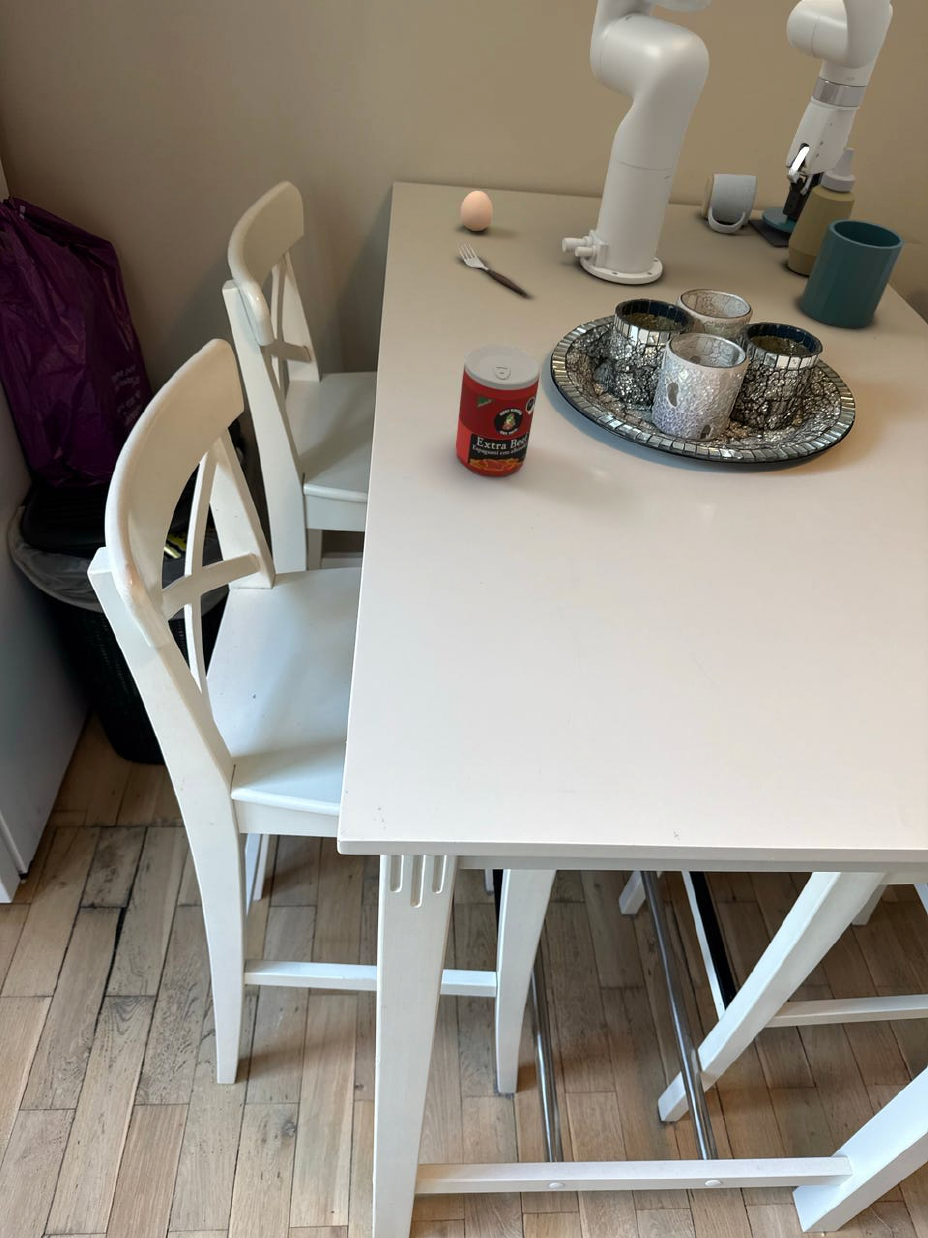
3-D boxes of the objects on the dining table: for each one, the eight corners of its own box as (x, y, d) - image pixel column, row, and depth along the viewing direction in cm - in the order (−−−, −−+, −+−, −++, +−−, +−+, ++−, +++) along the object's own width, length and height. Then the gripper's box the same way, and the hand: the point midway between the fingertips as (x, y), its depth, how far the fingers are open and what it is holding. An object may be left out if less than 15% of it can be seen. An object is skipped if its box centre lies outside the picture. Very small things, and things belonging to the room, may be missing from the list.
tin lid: (778, 238, 147) (791, 198, 143) (749, 212, 155) (761, 174, 150) (837, 239, 149) (852, 199, 145) (806, 214, 157) (820, 176, 153)
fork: (519, 300, 124) (521, 286, 123) (453, 256, 133) (455, 243, 131) (533, 296, 125) (535, 282, 124) (467, 254, 134) (469, 240, 133)
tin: (820, 328, 127) (852, 247, 119) (787, 296, 134) (816, 218, 126) (884, 327, 129) (919, 248, 121) (848, 296, 136) (879, 219, 128)
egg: (492, 226, 143) (496, 188, 139) (488, 238, 139) (492, 199, 135) (461, 221, 143) (465, 183, 139) (456, 233, 139) (460, 194, 135)
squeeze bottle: (825, 262, 145) (870, 143, 133) (835, 283, 139) (884, 160, 127) (776, 256, 145) (817, 136, 133) (785, 276, 139) (828, 153, 127)
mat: (775, 246, 148) (776, 244, 148) (747, 221, 156) (748, 219, 156) (833, 247, 151) (834, 245, 150) (803, 222, 158) (803, 220, 158)
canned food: (465, 480, 91) (477, 385, 84) (446, 438, 97) (455, 345, 89) (535, 475, 93) (552, 381, 86) (512, 433, 99) (526, 342, 91)
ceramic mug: (697, 208, 158) (710, 163, 152) (743, 215, 158) (757, 170, 152) (700, 231, 150) (713, 184, 145) (748, 238, 150) (763, 191, 145)
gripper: (844, 81, 144) (803, 199, 157) (789, 91, 136) (751, 215, 148) (885, 94, 140) (840, 213, 153) (831, 105, 132) (788, 230, 145)
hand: (797, 213), depth 151 cm, fingers closed on tin lid, 3 cm apart
